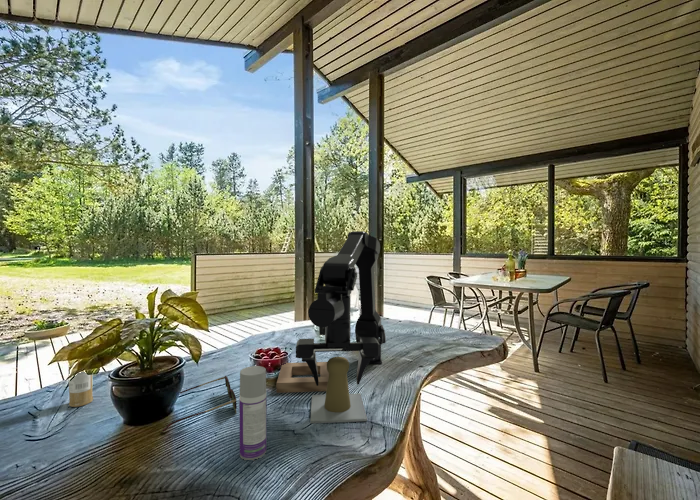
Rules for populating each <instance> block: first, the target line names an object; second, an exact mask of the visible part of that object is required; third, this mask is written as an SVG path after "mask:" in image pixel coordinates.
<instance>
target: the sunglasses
mask: <svg viewBox="0 0 700 500" xmlns="http://www.w3.org/2000/svg"><path fill="white" fill-rule="evenodd" d="M221 380H224V381H225V387H226V389H227V395H228V398H229V401H227V402H225V403H222V404H220V405H217V406H215V407H212V408H209V409H207V410H203V411H200V412H198V413H193V414H190V415H187V416H184V417H182V418H179V419H177V420H174V421H171V422H170V423H169V424H168V425H167V426H166V427H164V428H163V429H162V430H161V431H164V432H165V431H166V430H167V429H169V428H170V427H171V426H172V425H174V424H176V423H178V422H181V421H185V420H187V419H190V418H192V417H193V418H194V417H196V416H199V415H202V414H205V413H209V412H211V411H213V410H217V409H218V408H222V407H224V406H226V405H230V404H232V407H233V409H234V413H235V414H237V408H238V407H237V405H238V404H237V396H236V394H235V391H234V389H232V387H231V384H230V381H229V379H228V376H227V375H224V376H222V377H219V378H217V379H213V380H209V381H207V382H205V383H201V384H199V385H196V386H193V387H189V388H188V389H185V390H182V391H180V394H179V395H181V394H184V393H185V392H188V391H191V390H194V389H197V388H199V387H202V386H205V385H207V384H211V383H214V382H217V381H221Z"/></svg>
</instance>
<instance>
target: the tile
mask: <svg viewBox="0 0 700 500" xmlns="http://www.w3.org/2000/svg"><path fill="white" fill-rule="evenodd" d="M349 397H350V405H351V407H350V409H348V410H347V411H344V412H331V411H328V410H326V409H325V398H326V394H312V395H311V409H310V424H325V423H326V424H328V423H329V424H330V423H333V424H334V423H351V422H352V423H353V422H354V423H355V422H368V417H367V414H366V413H367V412H366V409H365V404H364V401H363V398H362V394H361V393H360V392H359V393H349Z"/></svg>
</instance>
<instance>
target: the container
mask: <svg viewBox="0 0 700 500" xmlns="http://www.w3.org/2000/svg"><path fill="white" fill-rule="evenodd" d="M266 371H267V369H266V368H265V367H264V366H262V365H261V366H260V365H253V366H246V367H244V368H242V369H241V370H240V372H239V400H238V401H239V402H238V403H239V409H238V410H239V457H240V458H241V460H243V459H244V461H246V460H253V461H255V460H254V459H257V460H259V459H258V458H260V457H261V458H263V457H264V456H265V455H266V454H267V445H268V444H267V442H268V441H267V438H268V437H267V435H268V434H267V423H268V422H267V419H268V418H267V413H268V412H267V408H268V407H267V405H268V404H267V372H266ZM265 453H266V454H265ZM263 455H264V456H263ZM262 456H263V457H262ZM261 458H260V459H261Z"/></svg>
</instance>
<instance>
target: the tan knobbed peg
mask: <svg viewBox="0 0 700 500" xmlns="http://www.w3.org/2000/svg"><path fill="white" fill-rule="evenodd" d="M326 362H327V371H328V372H329V377H328V384H327V391H325V395H326V398H325V409H326V410H328V411H331V412H344V411H347V410H348V409H350V407H351V405H350V397H349V394H350V391H349V382H348V381H349V380H348V372H349V370H350V362H349V360H348V359H347V358H346V357H344V356H333V357H331V358H329V359H328V360H327V361H326Z"/></svg>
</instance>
